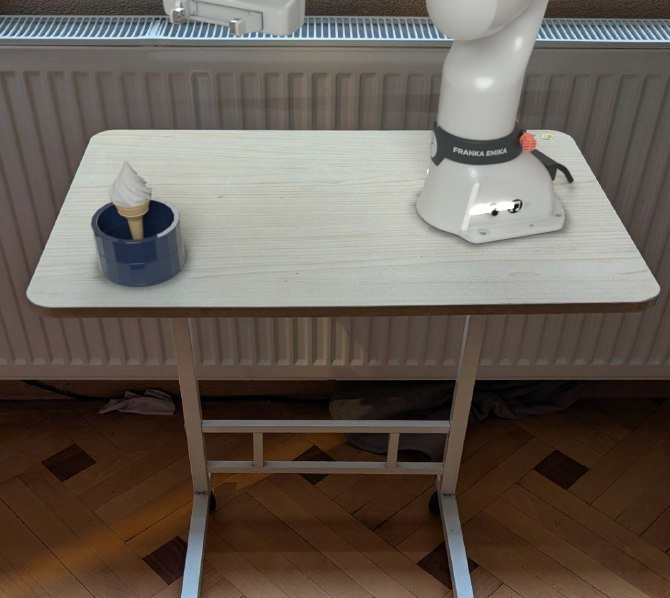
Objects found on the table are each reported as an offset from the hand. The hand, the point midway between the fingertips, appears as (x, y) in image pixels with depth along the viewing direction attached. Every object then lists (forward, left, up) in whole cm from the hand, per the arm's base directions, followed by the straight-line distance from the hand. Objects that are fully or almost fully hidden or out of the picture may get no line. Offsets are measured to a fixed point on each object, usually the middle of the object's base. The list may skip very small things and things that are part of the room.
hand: (203, 24), depth 113 cm
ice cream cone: (+11, +19, -25) cm, 33 cm away
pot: (+11, +19, -25) cm, 33 cm away
